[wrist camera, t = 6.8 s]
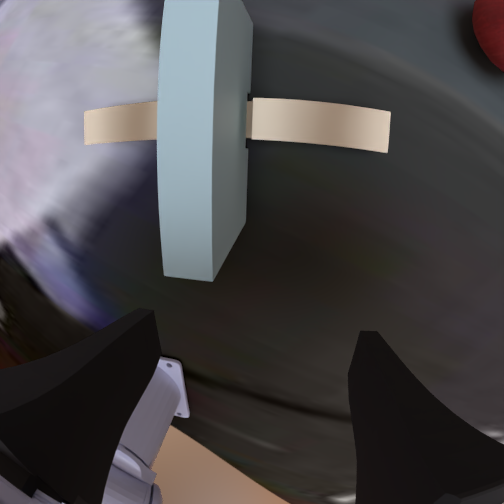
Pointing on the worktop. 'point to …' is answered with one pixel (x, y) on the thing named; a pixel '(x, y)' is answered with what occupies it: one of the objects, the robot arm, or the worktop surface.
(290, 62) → the worktop surface
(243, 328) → the worktop surface
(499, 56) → the onion
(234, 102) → the teal plate
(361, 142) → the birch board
